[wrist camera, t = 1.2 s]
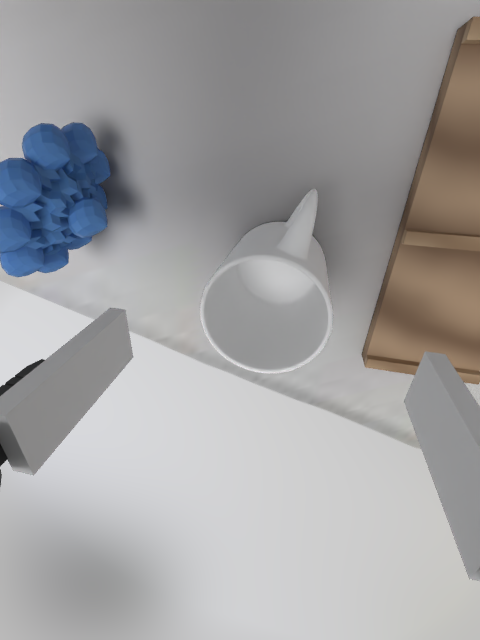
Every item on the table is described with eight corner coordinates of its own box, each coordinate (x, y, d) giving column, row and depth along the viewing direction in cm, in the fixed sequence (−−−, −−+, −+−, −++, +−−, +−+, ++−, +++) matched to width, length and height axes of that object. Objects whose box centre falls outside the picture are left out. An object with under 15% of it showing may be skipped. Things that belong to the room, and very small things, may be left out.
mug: (364, 202, 25) (396, 233, 16) (300, 320, 31) (297, 391, 22) (266, 162, 25) (241, 169, 16) (222, 287, 31) (185, 345, 22)
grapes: (131, 267, 32) (46, 322, 22) (71, 239, 32) (-43, 282, 22) (156, 148, 26) (56, 147, 16) (83, 114, 26) (-67, 90, 16)
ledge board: (457, 29, 19) (473, 16, 17) (644, 28, 18) (684, 14, 16) (361, 354, 32) (365, 367, 30) (467, 369, 30) (478, 384, 28)
